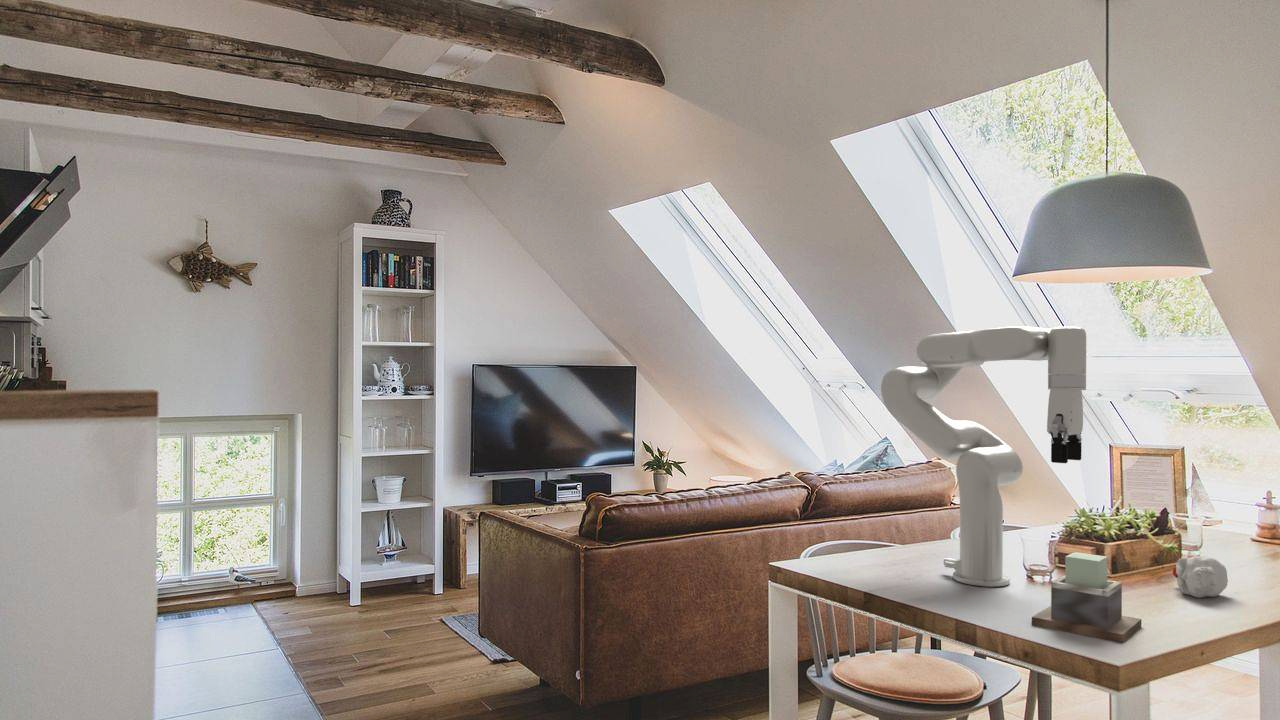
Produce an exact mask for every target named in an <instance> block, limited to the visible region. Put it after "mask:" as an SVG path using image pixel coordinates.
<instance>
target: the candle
mask: <svg viewBox="0 0 1280 720" xmlns="http://www.w3.org/2000/svg"><path fill="white" fill-rule="evenodd" d="M1172 575H1173V576H1174V577H1175V578H1176V581H1177V583H1176V584H1177V586H1178V589H1179V590H1180V592H1181V593H1183V594H1185V595H1189V596H1192V597H1194V598H1197V599H1200V598H1210V597H1211V598H1212V597H1213V598H1214V597H1216V596H1219V595H1220V594H1222V593H1223V592H1224V590H1225V589H1227V587H1228V582H1229V580H1228V578H1229V577H1228V570H1227V568H1226V566H1225V565H1224V564H1223V563H1221V562H1220V561H1219V560H1217V559H1215V558H1213V557H1208V556H1195V555H1193V556H1192V555H1191V556H1188V557H1181V558H1179V559H1178V560H1177V562H1176V565H1175V566H1174V568H1173V570H1172Z"/></svg>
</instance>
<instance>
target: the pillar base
mask: <svg viewBox="0 0 1280 720" xmlns="http://www.w3.org/2000/svg"><path fill="white" fill-rule="evenodd" d="M1050 589H1051V591H1050V592H1051V594H1050V596H1051V597H1050V599H1051V601H1050V602H1051V603H1050V605H1049V606H1048V607H1046V608H1045V609H1043V610H1041V611H1039V612H1037V613H1036V614H1034V615H1033V616H1031V625H1033V626H1038V627H1041V628H1047V629H1052V630H1057V631H1062V632H1067V633H1073V634H1076V635H1083V636H1088V637H1091V638H1092V637H1093V638H1098V639H1103V640H1107V641H1113V642H1118V643H1121V644H1122V643H1124V642H1125V641H1127V640H1128V639H1129V638H1130V637H1131V636H1132V635H1134V634H1135V633H1136V632H1137V631H1138V630H1139V629H1141V628H1142V618H1138V617H1133V616H1132V617H1130V616H1127V615H1123V614H1122V610H1123V605H1122V603H1123V602H1122V601H1123V600H1122V599H1123V597H1122V596H1123V595H1122V594H1123V592H1122V590H1123V582H1121V581H1115V580H1108V579H1107V588H1105V589H1097V588H1091V587H1085V586H1079V585H1073V584H1067V583H1065V574H1064V575H1062V576H1060V577H1058V578H1056V579H1055V580H1053V581H1051V587H1050Z"/></svg>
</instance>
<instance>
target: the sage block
mask: <svg viewBox="0 0 1280 720" xmlns="http://www.w3.org/2000/svg"><path fill="white" fill-rule="evenodd" d="M1064 558H1065V559H1064V560H1065V561H1064V562H1065V573H1064V575H1065V583H1067V584H1073V585H1079V586H1085V587H1091V588H1097V589H1105V588H1107V580H1108V555H1107V556H1104V555H1099V554H1092V553H1091V554H1090V553H1083V552H1077V551H1076V552H1075V551H1073V552H1072V553H1070V554H1068V555H1066V556H1065V557H1064Z"/></svg>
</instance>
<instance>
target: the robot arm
mask: <svg viewBox="0 0 1280 720" xmlns="http://www.w3.org/2000/svg"><path fill="white" fill-rule="evenodd" d="M916 346H917V347H916V356H917V358H918V360H919V361H920V362H921V363H922V364H923V366H900V367H899V366H898V367H896V368H895V367H894V368H892V369H890V370H889V371H887V372H886V373H885V374H884V376H882V380H881V385H880V392H881V397H882V400H883V404H884V406H885V408H886V409H887V411H888V412H889V413H890V415H891V416H892V417H893V418H894V419H895V420H897V422H899V423H900V424H901V425H903V426H904V427H905V428H906V429H908V431H910V432H911V433H912V434H914V435H915V437H917V438H918V439H919V440H920V441H921V442H923V443H924V445H926V446H927V447H928V448H930V450H932V451H933V452H934V453H935V454H936V455H937V456H939V457H940V458H942V459H945V460H957V461H956V466H955V467H956V468H955V471H956V472H955V473H956V479H957V484H958V491H959V494H958V495H959V558H957V559H953V558H949V557H945V558H944V559H943V565H944V568H951V569H954V570H955V571H954V572H953V573H952V579H953V580H955V581H956V582H958V583H962V584H966V585H970V586H978V587H988V588H989V587H992V588H994V587H1005V586H1008V585H1009V584H1010V580H1011V578H1010V577H1008V576H1007V575H1005V574H1003V565H1004V564H1003V558H1004V557H1003V552H1004V551H1003V549H1004V547H1003V546H1004V545H1003V541H1004V538H1003V536H1004V535H1003V534H1004V532H1003V531H1004V529H1003V528H1004V521H1003V520H1004V517H1003V515H1004V511H1003V510H1004V509H1003V500H1002V496H1001V492H1000V489H999V487H1002V486H1008V485H1012V484H1013V483H1015V482H1017V481H1018V480H1019V478H1020V477H1021V475H1022V474H1023V462H1022V459H1021V458H1020V456H1019V454H1018V453H1017V452H1016V450H1014V449H1013V448H1012V447H1011V446H1009V444H1007V443H1006V442H1004V440H1002V439H1000V437H998V436H997V435H996V434H994V433H993V432H992V431H990V430H989V429H988V428H987V427H986V426H984V425H982V424H980V423H977V422H975V421H973V420H972V421H971V420H957V419H955V420H954V419H951V418H950V417H948V416H946V415H945V414H943V412H941V411H940V410H938V408H937V407H935V406H934V405H932V404H930V403H928V402H927V401H925V400H928V399H933V398H935V397H937V396H938V395H940V394H941V392H943V391H944V390H945V388H946V387H947V386H948V385H949V384H950V383H951V381H953V379H954V378H956V376H957V375H958V374H959V373H960V371H961V370H962V369H963V368H964V367H972V366H973V367H974V366H981V365H983V364H984V363H986V362H995V361H998V362H999V361H1037V362H1038V361H1039V362H1040V361H1041V362H1042V361H1047V390H1049V396H1048V404H1047V405H1048V406H1047V422H1046V432H1047V434H1049V435H1050V436H1051V439H1050V447H1051V448H1050V451H1051V452H1050V461H1051V462H1052V463H1057V464H1067V463H1069V460H1070V461H1071V460H1072V461H1081V460H1082V439H1083V438H1082V433H1083V429H1084V428H1083V426H1084V409H1083V407H1084V405H1083V404H1084V403H1083V391H1086V390H1087V332H1086V330H1085V329H1084V328H1083V327H1079V326H1057V327H1052V328H1045V327H1044V328H1043V327H1035V326H1034V327H1033V326H1021V325H1019V326H1005V327H997V328H996V327H994V328H984V329H974V330H973V329H972V330H965V331H954V332H943V333H933V334H929V335H925V337H922V338H921V340H920V341H919V342H918V343H917V345H916Z"/></svg>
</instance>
